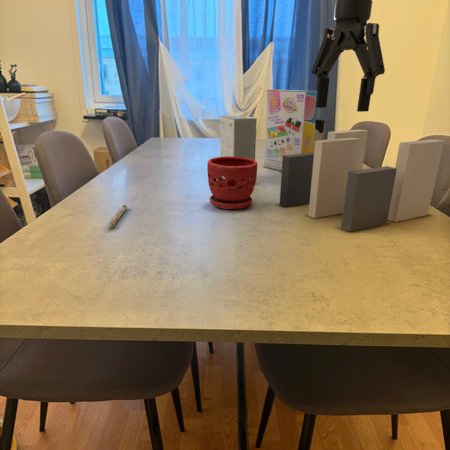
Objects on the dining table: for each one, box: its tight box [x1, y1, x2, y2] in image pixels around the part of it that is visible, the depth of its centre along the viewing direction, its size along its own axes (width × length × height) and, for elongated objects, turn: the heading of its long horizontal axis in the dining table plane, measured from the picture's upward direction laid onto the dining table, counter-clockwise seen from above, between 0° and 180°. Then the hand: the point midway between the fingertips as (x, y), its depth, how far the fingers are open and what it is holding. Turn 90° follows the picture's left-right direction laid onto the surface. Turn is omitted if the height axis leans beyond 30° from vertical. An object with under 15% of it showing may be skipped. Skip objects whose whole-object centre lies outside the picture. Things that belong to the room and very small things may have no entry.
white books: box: [326, 129, 445, 223], centre depth 114 cm, size 27×12×18 cm, turn 30°
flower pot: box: [206, 156, 258, 210], centre depth 115 cm, size 13×13×12 cm
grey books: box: [279, 152, 397, 233], centre depth 108 cm, size 27×12×13 cm, turn 30°
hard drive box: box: [220, 114, 258, 179], centre depth 142 cm, size 16×8×20 cm, turn 17°
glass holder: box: [313, 119, 326, 152], centre depth 185 cm, size 9×14×15 cm, turn 145°
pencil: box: [108, 204, 128, 230], centre depth 106 cm, size 1×1×18 cm
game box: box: [264, 89, 318, 172], centre depth 155 cm, size 21×6×27 cm, turn 34°
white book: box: [307, 138, 360, 219], centre depth 107 cm, size 2×12×18 cm, turn 120°
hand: (340, 109), depth 100 cm, fingers open, 13 cm apart
